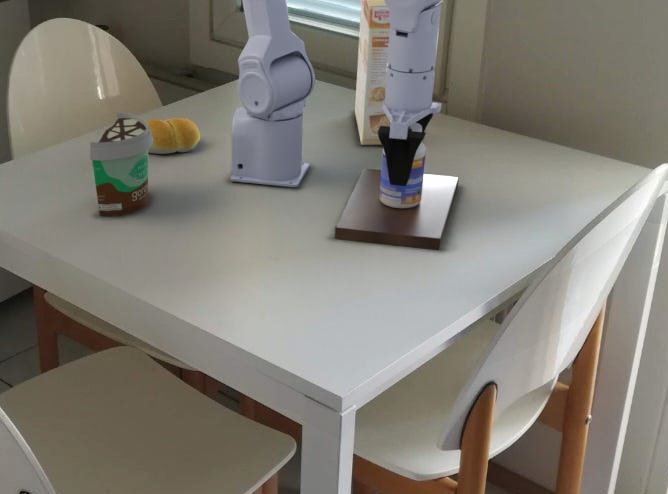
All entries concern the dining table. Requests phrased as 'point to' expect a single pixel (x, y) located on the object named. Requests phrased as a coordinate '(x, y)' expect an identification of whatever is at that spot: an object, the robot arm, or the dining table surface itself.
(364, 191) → the walnut board
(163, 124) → the bread roll
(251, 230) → the dining table surface
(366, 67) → the coffeecake box
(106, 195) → the food container
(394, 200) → the pill bottle
